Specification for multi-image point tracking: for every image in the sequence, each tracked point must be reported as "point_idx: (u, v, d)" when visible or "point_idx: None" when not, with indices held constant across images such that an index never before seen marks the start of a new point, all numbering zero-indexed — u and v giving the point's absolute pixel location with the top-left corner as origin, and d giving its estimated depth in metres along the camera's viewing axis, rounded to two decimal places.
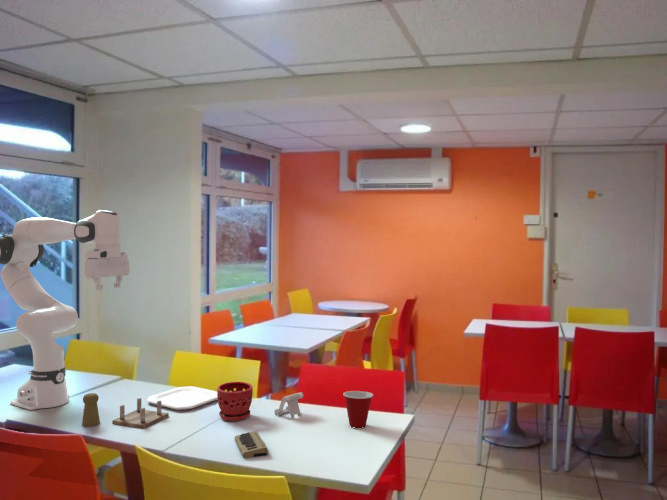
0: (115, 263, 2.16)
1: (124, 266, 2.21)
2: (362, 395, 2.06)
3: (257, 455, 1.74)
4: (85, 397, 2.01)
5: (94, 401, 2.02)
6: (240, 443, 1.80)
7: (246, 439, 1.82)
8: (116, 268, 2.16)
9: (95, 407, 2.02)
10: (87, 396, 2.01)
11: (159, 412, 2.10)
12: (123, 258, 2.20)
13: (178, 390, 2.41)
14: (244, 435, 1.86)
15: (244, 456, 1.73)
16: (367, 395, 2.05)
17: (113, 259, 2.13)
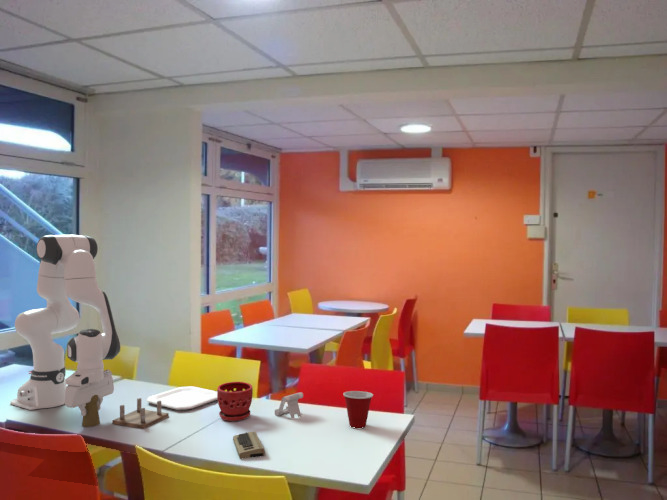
0: (98, 385, 2.04)
1: (108, 386, 2.09)
2: (362, 395, 2.06)
3: (254, 455, 1.74)
4: None
5: (94, 401, 2.02)
6: (237, 443, 1.80)
7: (244, 439, 1.82)
8: (99, 391, 2.04)
9: (95, 407, 2.02)
10: None
11: (159, 412, 2.10)
12: (107, 377, 2.08)
13: (178, 390, 2.41)
14: (242, 435, 1.86)
15: (240, 456, 1.73)
16: (367, 395, 2.05)
17: (96, 383, 2.01)
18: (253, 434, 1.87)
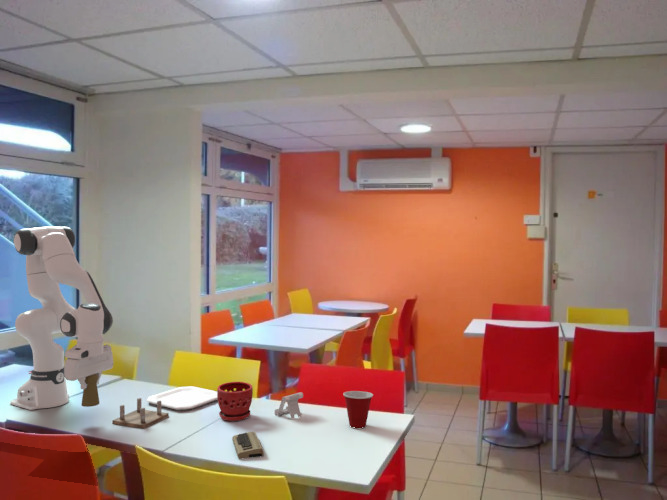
0: (98, 359, 2.04)
1: (107, 361, 2.09)
2: (362, 395, 2.06)
3: (252, 456, 1.74)
4: None
5: (94, 381, 2.02)
6: (237, 443, 1.80)
7: (243, 439, 1.82)
8: (98, 365, 2.04)
9: (95, 387, 2.02)
10: (87, 376, 2.01)
11: (159, 412, 2.10)
12: (106, 352, 2.08)
13: (178, 390, 2.41)
14: (241, 435, 1.86)
15: (239, 456, 1.73)
16: (367, 395, 2.05)
17: (95, 357, 2.01)
18: (252, 434, 1.87)
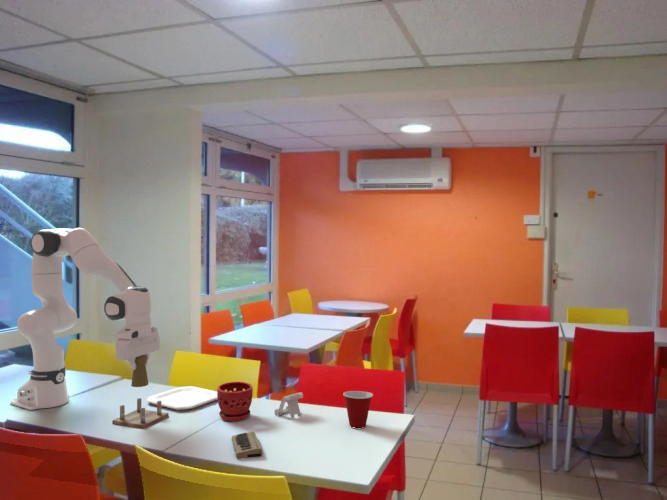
0: (146, 341, 2.08)
1: (155, 342, 2.12)
2: (362, 395, 2.06)
3: (251, 456, 1.74)
4: None
5: (143, 362, 2.05)
6: (235, 443, 1.80)
7: (242, 439, 1.82)
8: (147, 346, 2.08)
9: (144, 368, 2.06)
10: (136, 357, 2.05)
11: (159, 412, 2.10)
12: (153, 334, 2.12)
13: (178, 390, 2.41)
14: (241, 435, 1.86)
15: (238, 456, 1.73)
16: (367, 395, 2.05)
17: (144, 338, 2.05)
18: (252, 434, 1.86)
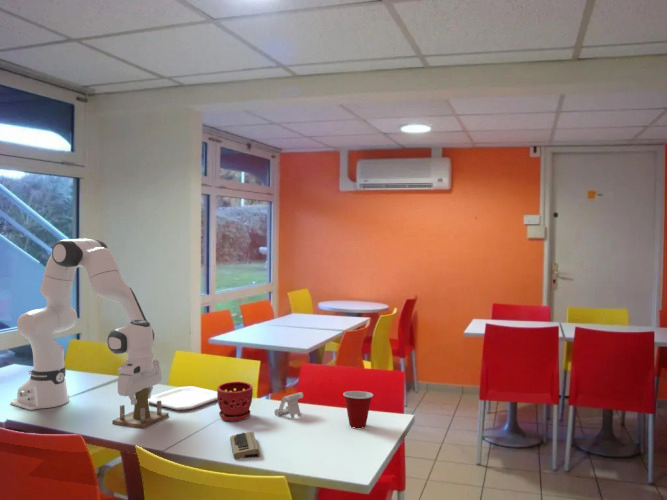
0: (148, 374, 2.09)
1: (156, 375, 2.13)
2: (362, 395, 2.06)
3: (248, 456, 1.74)
4: None
5: (145, 394, 2.06)
6: (233, 443, 1.80)
7: (240, 439, 1.82)
8: (148, 380, 2.09)
9: (146, 400, 2.07)
10: None
11: (159, 412, 2.10)
12: (155, 367, 2.12)
13: (178, 390, 2.41)
14: (239, 435, 1.86)
15: (235, 457, 1.72)
16: (367, 395, 2.05)
17: (146, 372, 2.06)
18: (250, 434, 1.86)
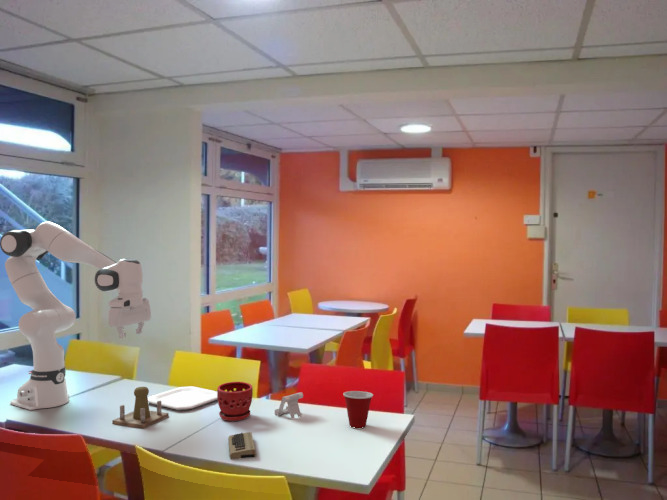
0: (137, 310, 2.21)
1: (146, 312, 2.25)
2: (362, 395, 2.06)
3: (245, 456, 1.73)
4: (136, 390, 2.05)
5: (145, 394, 2.06)
6: (231, 443, 1.80)
7: (237, 440, 1.82)
8: (138, 315, 2.21)
9: (146, 400, 2.07)
10: (138, 389, 2.05)
11: (159, 412, 2.10)
12: (145, 304, 2.24)
13: (178, 390, 2.41)
14: (237, 435, 1.86)
15: (231, 457, 1.72)
16: (367, 395, 2.05)
17: (136, 307, 2.17)
18: (248, 435, 1.86)
